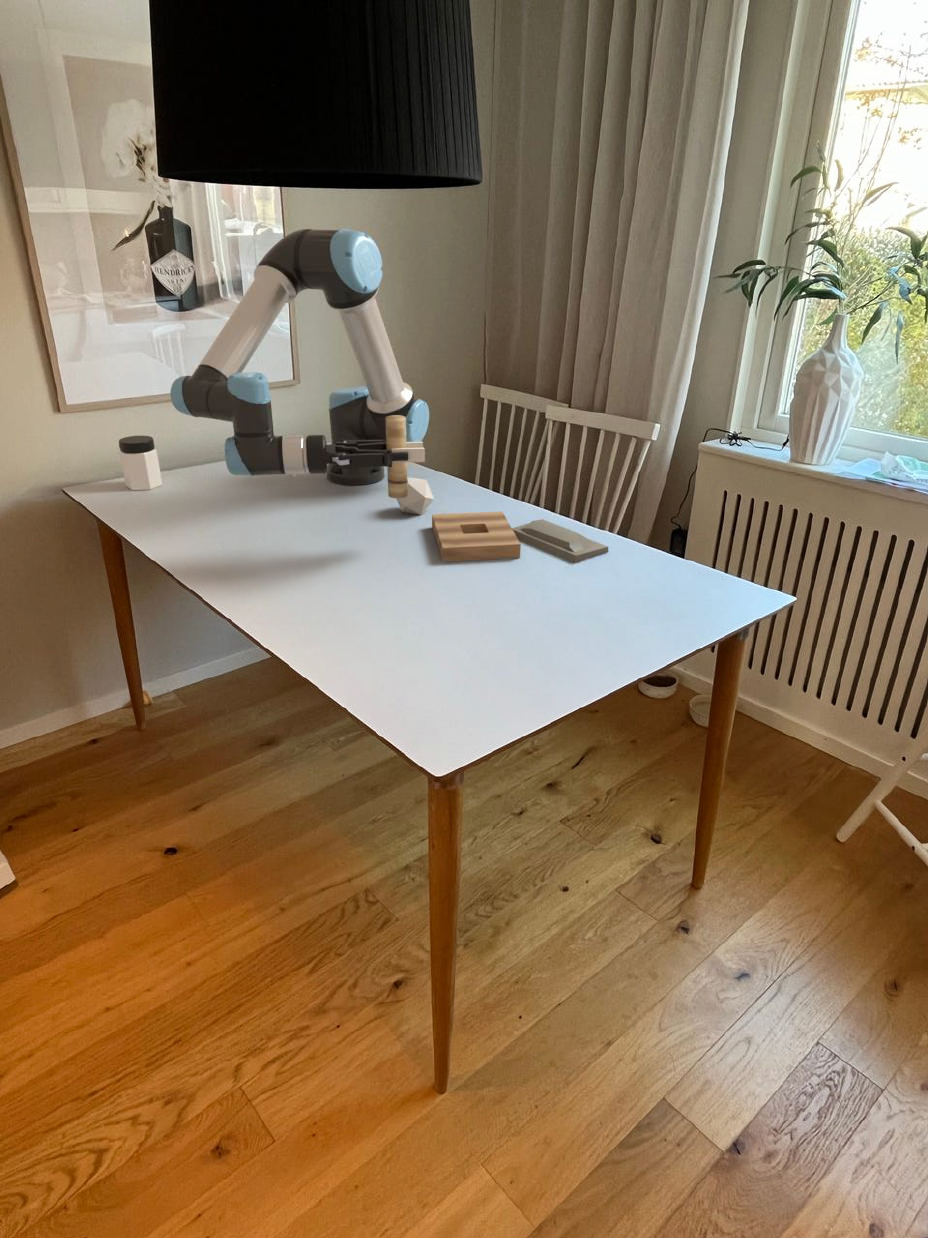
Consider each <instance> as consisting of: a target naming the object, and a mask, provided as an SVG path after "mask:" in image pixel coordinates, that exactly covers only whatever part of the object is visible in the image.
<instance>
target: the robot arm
mask: <svg viewBox="0 0 928 1238" xmlns="http://www.w3.org/2000/svg"><path fill="white" fill-rule="evenodd" d="M382 267H383V260H382V255H381V251H380V249H379V247H378V245H377V244H376V242H375V241H374V239H373V238H372V237H371V236H370V235H368V234H367V233H364V232H363V231H359V230H352V229H347V228H342V229H311V228H302V229H298V230H294V231H292V232H291V233H289V234H287V235H285V236H284V237H282V238H281V239H280V240H279V241H277V242H276V244H274V245H273V246H272V247H271V248H270V249H269V250H268V251H267V252H266V253H265V254H264V256H263V257H262V259H261V260H260V261H259V263H258V264H257V266H256V267H255V269H254V270H253V279H254V280H253V281H252V283H251V284H250V286H249V287H248V289H247V290H246V292H245V294H244V295H243V297H242V298H241V300H240V301H239V303H238V304H237V306H236V308H235V309H234V311H233V312H232V314H231V316H229V318H228V319H227V321H226V323H225V325H224V326H223V327H222V329H221V331H220V332H219V334H218V335H217V336H216V338H215V339H214V341H213V343H212V344H211V346H210V348H209V349H208V350H207V352H206V353H205V355H204V356H203V358H202V360H201V361H200V362H199V364H198V366H197V368H196V369H194V372H193V373H192V375H181V376H179V377H178V378H176V379H174V381H173V382H172V384H171V387H170V393H169V394H170V401H171V403H172V405H173V407H174V408H175V410H176V411H178V412H179V413H181V414H184V415H187V416H191V417H194V418H205V419H213V420H219V421H223V422H224V421H225V422H231V423H232V428H233V436H229V437H227V438H226V439H225V440H224V459H225V464H226V468H227V470H228V472H229V473H230V474H231V475H234V476H250V477H254V476H269V475H270V476H271V475H291V477H293V478H295V477H296V476H297V475H301V474H303V475H305V474H306V473H307V471H308V473H310V474H311V475H313V474H315V475H316V474H326V473H327V474H326V475H327V476H326V477H327V480H328V481H329V482H332V483H333V484H337V485H345V486H362V485H370V484H374V483H378V482H379V481H382V480H383V479H384V478H385V467H386V468H387V466H389V467H392V463H404V462H407V463H425V462H426V449H425V447H424V442H423V439H424V437H425V436H426V434H427V430H428V426H429V421H430V410H429V409H430V408H429V406H428V404H427V402H426V401H424V400H422V399H420V398H418V399H416V397H415V394H414V391H413V388H412V387H411V386H410V384H408V383H406V382H404V381H403V378H402V376H401V372H400V370H399V369H400V368H399V366H398V363H397V360H396V358H395V354H394V351H393V348H392V345H391V342H390V339H389V335H388V333H387V329H386V327H385V324H384V321H383V318H382V315H381V312H380V309H379V307H378V302H377V300H376V297H377V294H378V292H379V289H380V288H379V285H380V284H381V281H382V278H383V274H384V272H383V270H382ZM309 289H310V290H320V291H322V292H323V295H324V297H325V300H326V303H327V304H328V306H329V307H330V308H331V309H333V310H335V311H337V312H338V314H339V317H340V319H341V322H342V325H343V328H344V330H345V333H346V336H347V338H348V341H349V344H350V346H351V349H352V351H353V353H354V357H355V359H356V362H357V364H358V367H359V370H360V373H361V375H362V378H363V381H364V383H365V386H363V385H362V386H352V387H347V388H345V387H344V388H341V389H337V390H334V391H332V392H331V393H330V394H329V396H328V403H329V405H328V411H329V413H328V414H329V425H330V437H331V443H330V444H327V438H326V436H325V435H323V434H312V435H311V434H308V435H307V436H306V437H304V436H303V435H302V434H300V435H299V434H298V435H294V434H293V435H275V432H274V422H273V421H274V420H273V412H272V411H273V409H272V395H271V393H270V387H269V380H268V377H267V376H266V375H265V374H263V373H261V372H256V371H254V372H253V371H252V372H251V371H244V370H245V368H246V367H247V365H248V363H249V362H250V360H251V358H252V357H253V356H254V354H255V352H256V351H257V349H258V347H259V346H260V345H261V343H262V342H263V340H264V338H265V336H267V334H268V332H269V330H270V328H271V327H272V325H273V323H274V322H275V321H276V320H277V317H278V316H279V315H280V313H281V311H282V309H283V308H284V307H285V305H286V304H289V303H292V302H293V301H294V300H295V299H296V297H297V296H298V294H299V293H301V292H303V291H306V290H309ZM391 415H401V416H405V417H406V445H407V448H392V451H391V450H387V444H386V417H387V416H391Z"/></svg>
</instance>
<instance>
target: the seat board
mask: <svg viewBox="0 0 928 1238" xmlns="http://www.w3.org/2000/svg"><path fill="white" fill-rule="evenodd" d="M431 528H432V531H433V535H434V537H435V541H436V544H437V547H438V551H439V553H440V557H441V561H442V562H444V563H445V562H460V561H461V562H463V561H482V560H484V561H485V560H499V559H500V560H502V559H504V560H505V559H520V558H521V547H522V544H521V542H520V540H518V538H517V537H516V535H515V533H514V531H513V530H512V528H513V527H512V526H511V525H510V522H509V521H508V519H507V517H506V516H505V513H504V511H486V512H485V511H482V512H479V511H478V512H461V513H459V512H457V513H456V512H455V513H435V514H434V513H433V514H431Z"/></svg>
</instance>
